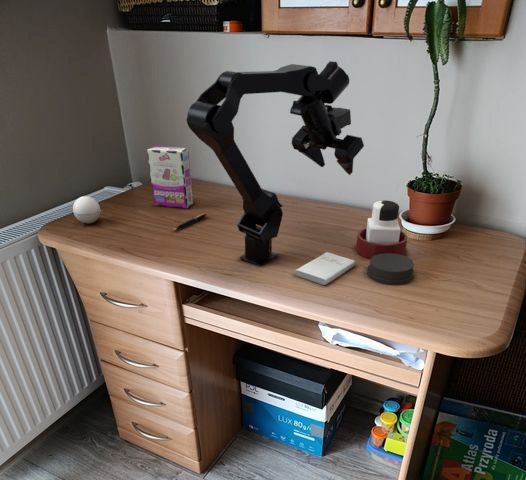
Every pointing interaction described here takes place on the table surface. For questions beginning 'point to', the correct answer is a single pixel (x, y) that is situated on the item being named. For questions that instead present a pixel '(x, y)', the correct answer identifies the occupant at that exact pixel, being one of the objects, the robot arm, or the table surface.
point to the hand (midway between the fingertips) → (336, 169)
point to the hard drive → (325, 268)
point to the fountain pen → (190, 221)
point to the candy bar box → (170, 176)
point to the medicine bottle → (383, 223)
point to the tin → (379, 246)
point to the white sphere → (86, 209)
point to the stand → (391, 269)
